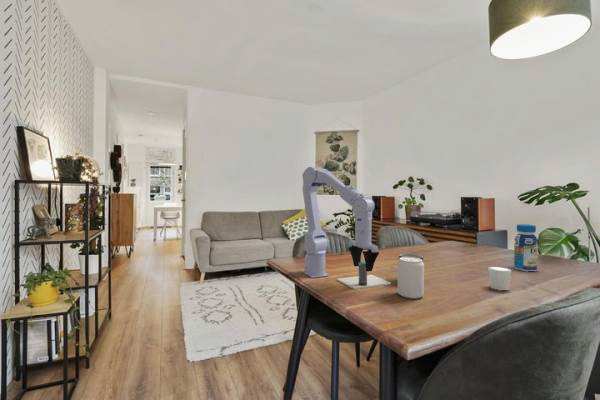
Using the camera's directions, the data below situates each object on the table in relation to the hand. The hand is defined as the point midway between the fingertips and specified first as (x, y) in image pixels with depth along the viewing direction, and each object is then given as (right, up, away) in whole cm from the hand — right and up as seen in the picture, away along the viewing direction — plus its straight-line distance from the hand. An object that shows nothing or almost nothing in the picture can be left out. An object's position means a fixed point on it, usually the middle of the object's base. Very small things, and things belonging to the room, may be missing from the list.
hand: (362, 268), depth 107 cm
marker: (0, -6, 0) cm, 6 cm away
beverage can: (+14, -7, -9) cm, 18 cm away
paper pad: (+1, -6, +5) cm, 8 cm away
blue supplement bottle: (+78, -6, +25) cm, 82 cm away
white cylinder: (+48, -7, -2) cm, 49 cm away
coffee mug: (+20, -7, +7) cm, 22 cm away
